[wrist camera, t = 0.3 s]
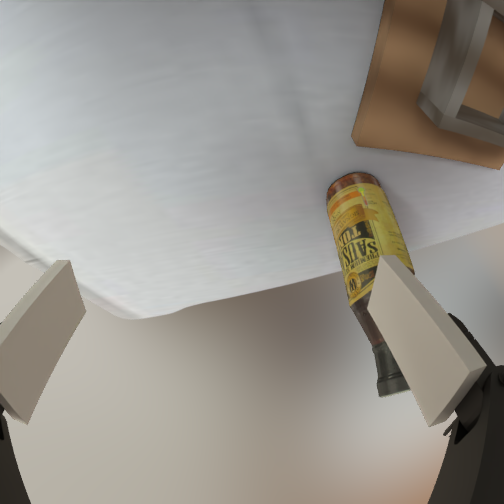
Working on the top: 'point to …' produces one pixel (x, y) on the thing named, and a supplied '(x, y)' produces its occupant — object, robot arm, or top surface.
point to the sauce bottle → (367, 259)
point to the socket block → (437, 81)
